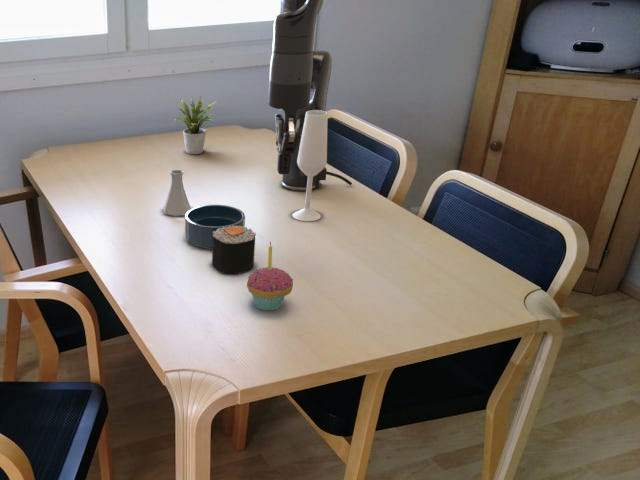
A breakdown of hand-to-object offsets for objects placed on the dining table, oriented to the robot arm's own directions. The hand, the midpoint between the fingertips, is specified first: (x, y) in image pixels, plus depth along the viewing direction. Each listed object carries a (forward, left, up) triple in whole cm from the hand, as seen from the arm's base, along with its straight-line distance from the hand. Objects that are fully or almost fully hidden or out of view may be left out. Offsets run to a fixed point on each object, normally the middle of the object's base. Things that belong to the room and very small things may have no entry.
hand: (283, 172), depth 131 cm
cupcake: (+4, +17, -20) cm, 26 cm away
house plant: (+13, -78, -20) cm, 81 cm away
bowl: (+12, -14, -19) cm, 27 cm away
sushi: (+9, 0, -20) cm, 22 cm away
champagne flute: (-11, -26, -20) cm, 34 cm away
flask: (+20, -31, -20) cm, 42 cm away
